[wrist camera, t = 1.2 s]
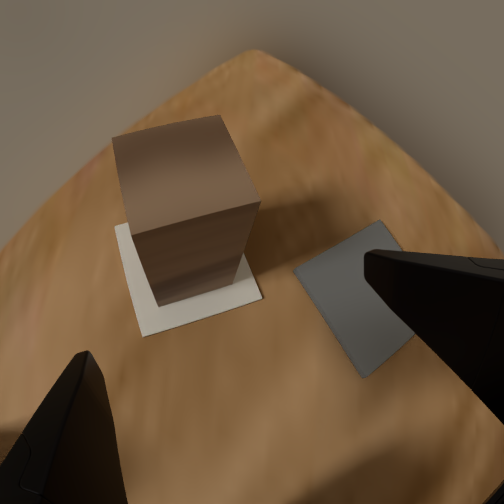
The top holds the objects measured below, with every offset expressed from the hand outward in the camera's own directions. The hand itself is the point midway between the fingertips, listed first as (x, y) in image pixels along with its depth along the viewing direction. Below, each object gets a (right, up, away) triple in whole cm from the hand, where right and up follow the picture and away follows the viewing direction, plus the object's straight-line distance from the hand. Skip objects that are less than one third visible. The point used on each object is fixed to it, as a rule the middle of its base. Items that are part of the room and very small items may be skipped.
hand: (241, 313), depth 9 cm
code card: (-5, +1, +15) cm, 16 cm away
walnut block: (-5, +1, +15) cm, 15 cm away
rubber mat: (+10, -2, +16) cm, 19 cm away
